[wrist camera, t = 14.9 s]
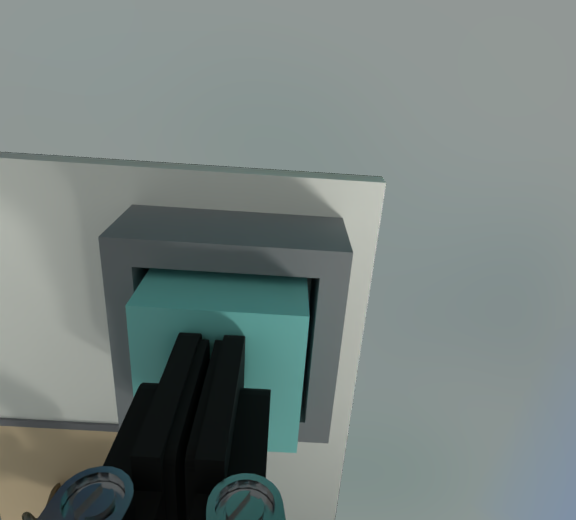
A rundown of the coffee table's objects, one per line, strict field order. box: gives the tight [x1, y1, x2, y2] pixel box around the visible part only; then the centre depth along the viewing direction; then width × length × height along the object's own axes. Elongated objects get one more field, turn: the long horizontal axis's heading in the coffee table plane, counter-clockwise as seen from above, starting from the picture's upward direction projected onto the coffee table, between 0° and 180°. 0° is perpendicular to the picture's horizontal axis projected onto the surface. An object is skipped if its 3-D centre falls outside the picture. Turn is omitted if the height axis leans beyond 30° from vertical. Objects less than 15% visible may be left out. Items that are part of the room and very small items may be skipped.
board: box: [0, 152, 386, 520], centre depth 18 cm, size 16×22×4 cm
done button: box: [125, 268, 310, 453], centre depth 14 cm, size 4×4×4 cm
